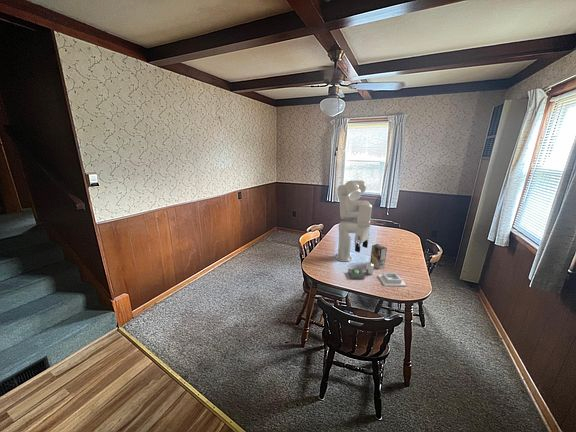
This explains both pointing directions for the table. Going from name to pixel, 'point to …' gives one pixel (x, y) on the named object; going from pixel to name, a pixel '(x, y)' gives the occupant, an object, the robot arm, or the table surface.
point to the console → (356, 276)
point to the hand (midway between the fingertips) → (361, 249)
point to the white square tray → (391, 279)
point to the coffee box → (378, 256)
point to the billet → (369, 268)
